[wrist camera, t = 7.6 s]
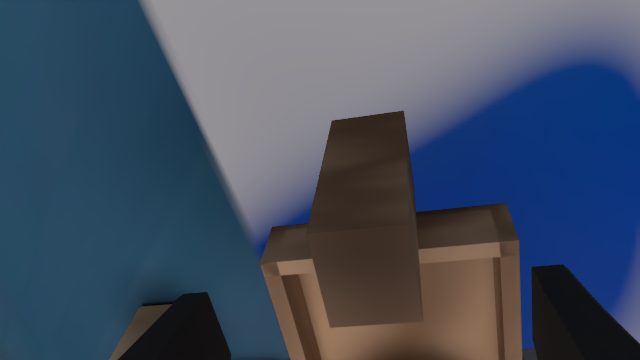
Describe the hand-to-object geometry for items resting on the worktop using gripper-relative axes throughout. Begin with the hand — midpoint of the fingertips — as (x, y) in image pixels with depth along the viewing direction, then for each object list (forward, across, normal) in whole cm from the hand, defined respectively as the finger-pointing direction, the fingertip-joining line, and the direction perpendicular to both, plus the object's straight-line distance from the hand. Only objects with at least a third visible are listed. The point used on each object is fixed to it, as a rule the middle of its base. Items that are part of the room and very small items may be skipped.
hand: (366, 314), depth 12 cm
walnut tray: (+8, 0, +8) cm, 11 cm away
